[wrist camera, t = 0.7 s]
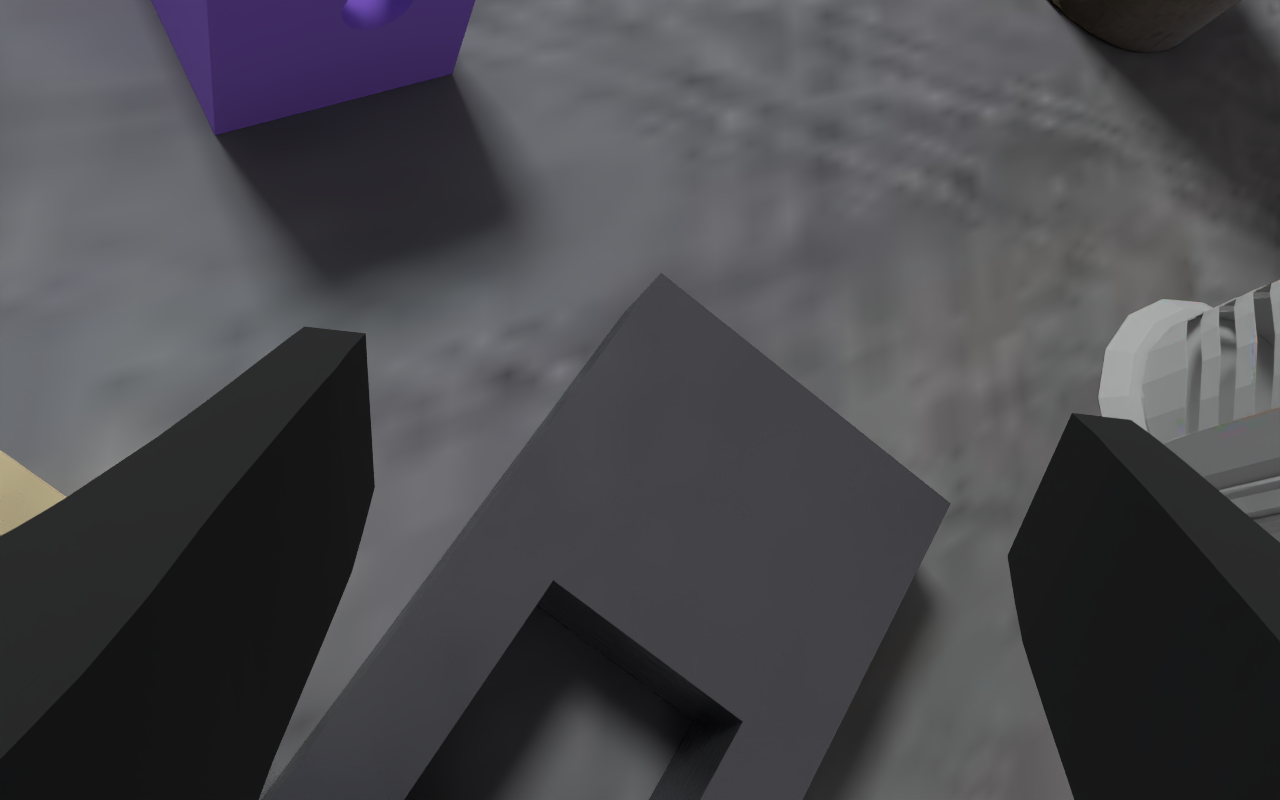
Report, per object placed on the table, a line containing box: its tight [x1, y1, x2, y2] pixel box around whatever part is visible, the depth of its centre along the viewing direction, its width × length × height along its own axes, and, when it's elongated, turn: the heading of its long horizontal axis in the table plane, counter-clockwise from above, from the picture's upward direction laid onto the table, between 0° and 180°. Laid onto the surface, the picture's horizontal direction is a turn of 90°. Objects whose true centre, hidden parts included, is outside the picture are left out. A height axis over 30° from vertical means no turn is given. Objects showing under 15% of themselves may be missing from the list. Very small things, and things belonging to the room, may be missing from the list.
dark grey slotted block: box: [262, 273, 951, 800], centre depth 24 cm, size 22×10×3 cm, turn 146°
